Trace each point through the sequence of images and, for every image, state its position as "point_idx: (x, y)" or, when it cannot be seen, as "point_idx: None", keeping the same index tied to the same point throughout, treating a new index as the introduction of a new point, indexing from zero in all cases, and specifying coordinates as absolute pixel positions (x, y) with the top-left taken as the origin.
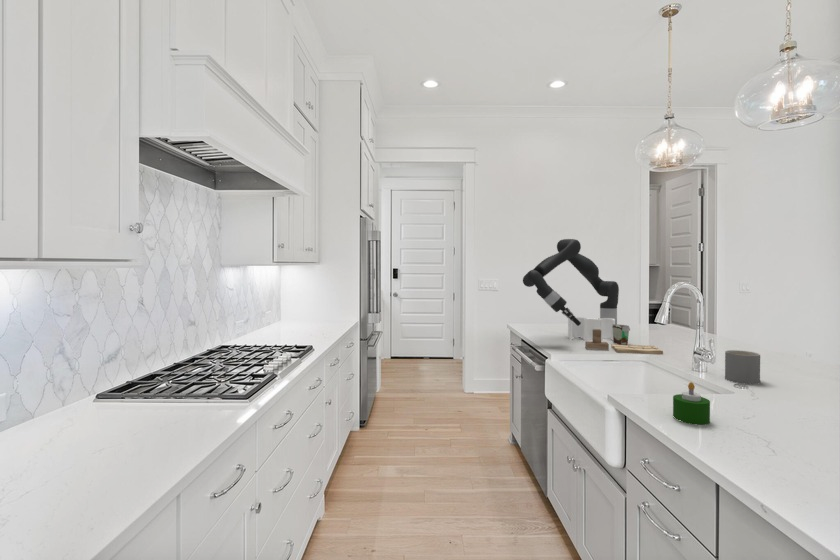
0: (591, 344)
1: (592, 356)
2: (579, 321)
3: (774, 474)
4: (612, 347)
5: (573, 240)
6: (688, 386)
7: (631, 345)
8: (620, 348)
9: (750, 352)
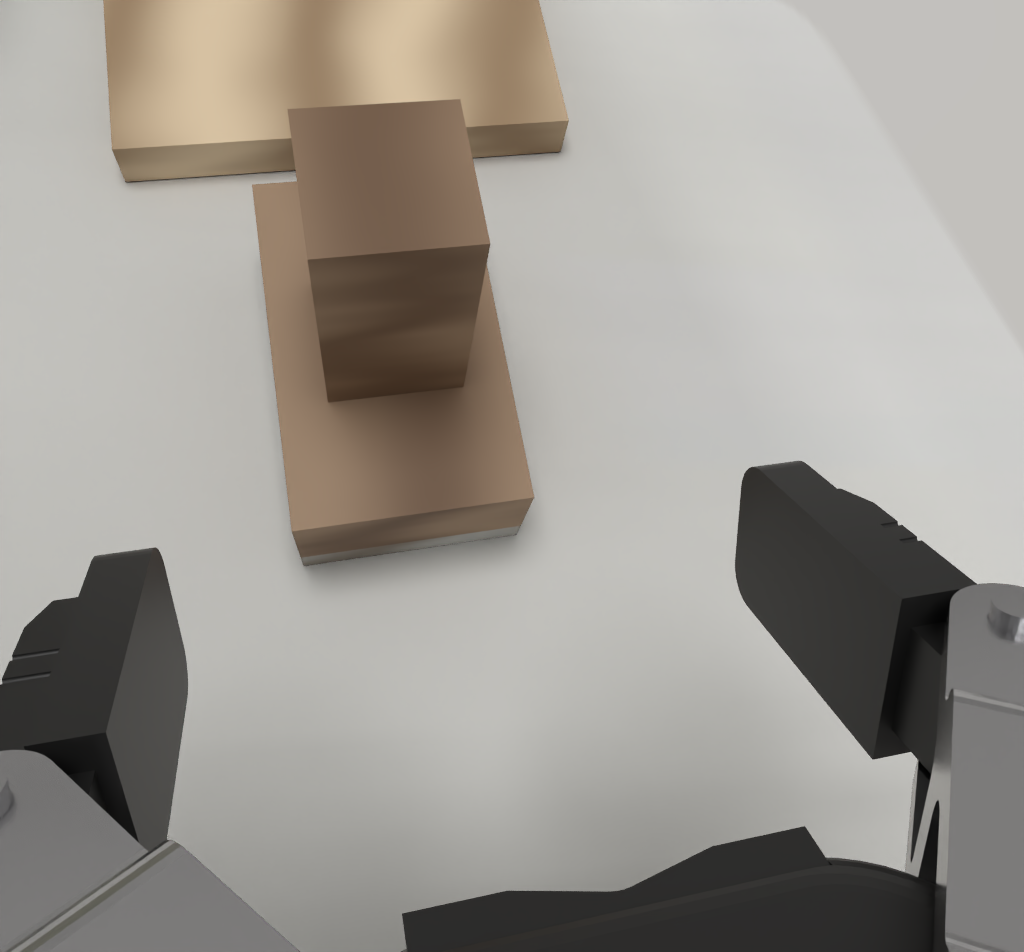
0: (515, 430)
1: (1000, 458)
2: (831, 488)
3: None
4: (234, 163)
5: None
6: None
7: None
8: (463, 72)
9: None
